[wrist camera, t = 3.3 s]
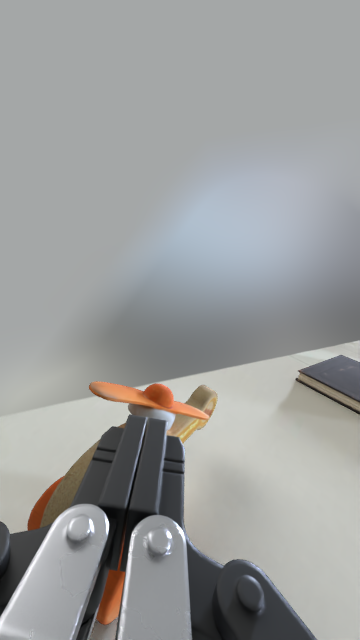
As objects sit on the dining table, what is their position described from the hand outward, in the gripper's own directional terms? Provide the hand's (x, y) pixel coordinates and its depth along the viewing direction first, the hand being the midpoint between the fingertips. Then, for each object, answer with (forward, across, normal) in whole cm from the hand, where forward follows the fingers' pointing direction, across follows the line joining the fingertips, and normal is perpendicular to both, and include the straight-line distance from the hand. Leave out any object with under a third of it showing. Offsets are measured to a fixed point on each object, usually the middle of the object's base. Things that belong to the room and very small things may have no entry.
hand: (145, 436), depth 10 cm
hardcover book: (+42, -41, +16) cm, 61 cm away
